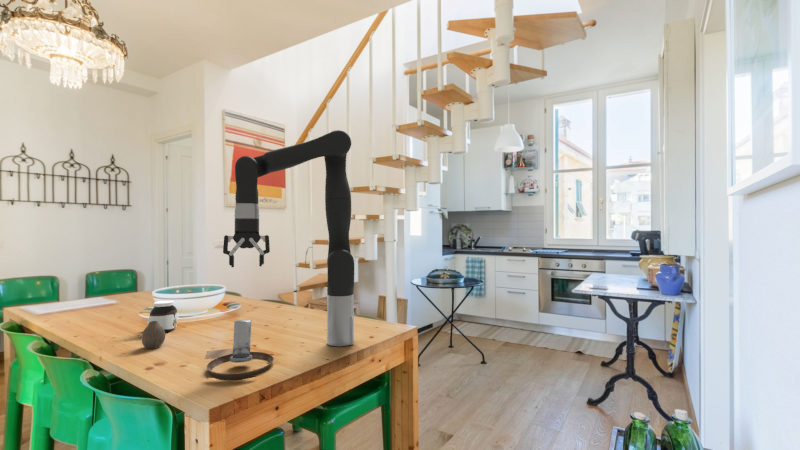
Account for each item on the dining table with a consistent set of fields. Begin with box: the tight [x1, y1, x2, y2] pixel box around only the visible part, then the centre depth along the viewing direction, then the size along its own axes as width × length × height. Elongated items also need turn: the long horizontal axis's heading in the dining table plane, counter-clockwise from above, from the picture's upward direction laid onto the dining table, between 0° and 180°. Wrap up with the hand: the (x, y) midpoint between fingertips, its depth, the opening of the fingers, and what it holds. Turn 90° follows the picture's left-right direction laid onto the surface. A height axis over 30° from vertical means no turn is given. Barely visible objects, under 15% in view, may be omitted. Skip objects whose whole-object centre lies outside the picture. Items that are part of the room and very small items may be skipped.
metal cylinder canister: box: [229, 319, 253, 364], centre depth 110 cm, size 6×6×11 cm
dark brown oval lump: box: [140, 321, 166, 350], centre depth 132 cm, size 7×7×9 cm
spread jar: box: [146, 300, 178, 334], centre depth 154 cm, size 12×11×12 cm
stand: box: [204, 348, 233, 360], centre depth 122 cm, size 8×8×1 cm
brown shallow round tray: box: [206, 351, 275, 382], centre depth 109 cm, size 18×18×3 cm
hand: (246, 266), depth 126 cm, fingers open, 8 cm apart
